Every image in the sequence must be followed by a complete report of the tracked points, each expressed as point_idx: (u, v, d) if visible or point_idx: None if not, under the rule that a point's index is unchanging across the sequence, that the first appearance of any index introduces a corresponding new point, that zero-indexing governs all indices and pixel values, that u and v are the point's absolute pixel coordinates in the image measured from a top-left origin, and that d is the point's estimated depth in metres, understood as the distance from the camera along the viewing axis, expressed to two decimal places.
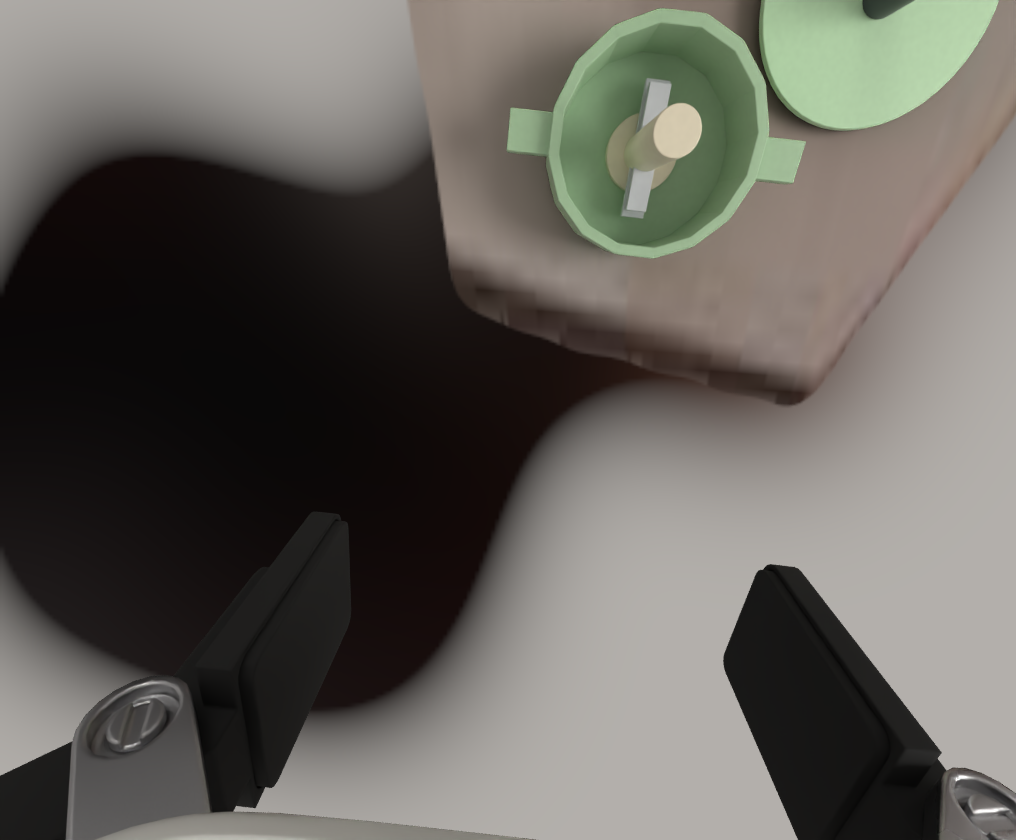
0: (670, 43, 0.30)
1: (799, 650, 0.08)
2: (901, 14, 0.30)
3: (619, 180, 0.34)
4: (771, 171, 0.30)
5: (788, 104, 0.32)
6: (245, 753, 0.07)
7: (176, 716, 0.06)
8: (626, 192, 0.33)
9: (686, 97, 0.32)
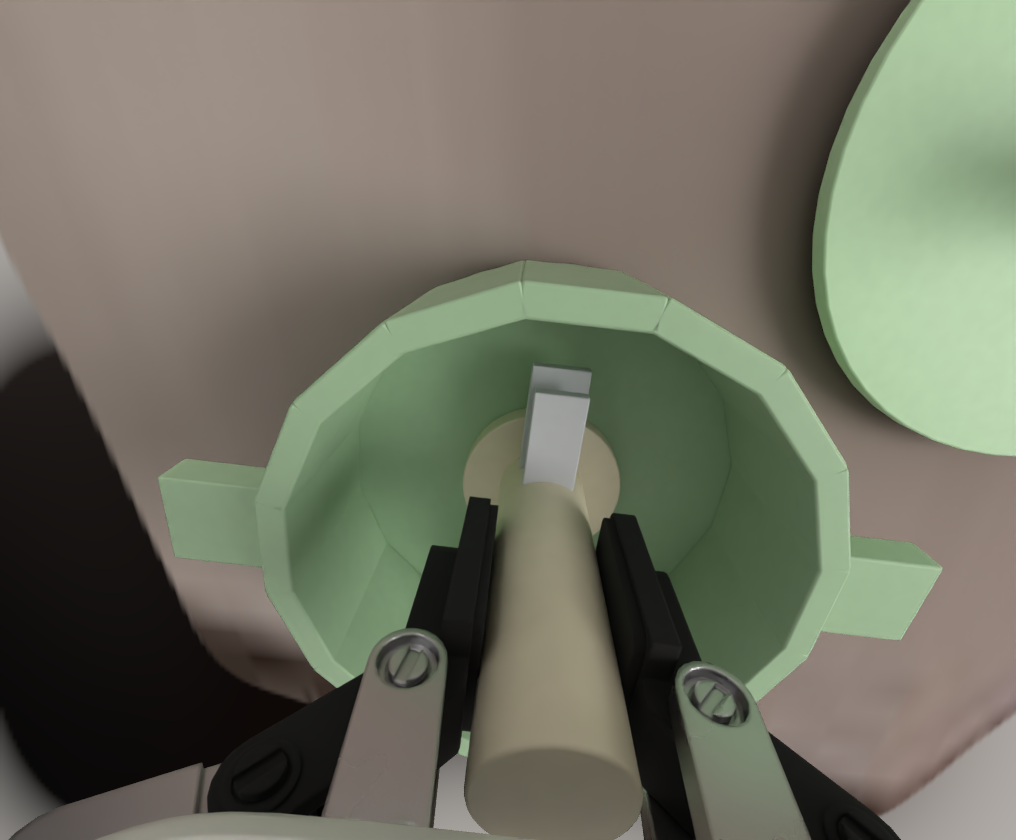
0: None
1: (612, 580, 0.10)
2: None
3: None
4: (846, 619, 0.12)
5: (877, 405, 0.13)
6: (464, 698, 0.08)
7: (440, 659, 0.07)
8: None
9: (638, 376, 0.14)
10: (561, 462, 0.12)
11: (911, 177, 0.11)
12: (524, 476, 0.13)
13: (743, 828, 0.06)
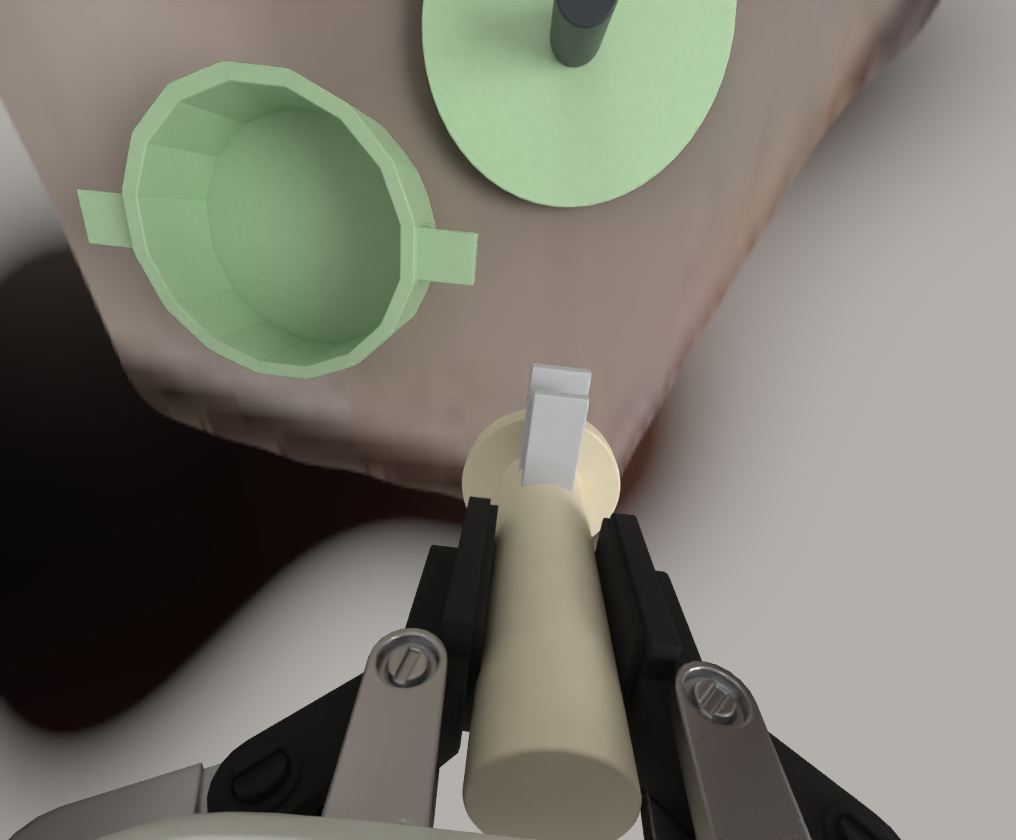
0: (294, 101, 0.22)
1: (613, 580, 0.10)
2: (606, 60, 0.22)
3: None
4: (439, 271, 0.23)
5: (484, 175, 0.24)
6: (464, 698, 0.08)
7: (440, 659, 0.07)
8: None
9: (357, 165, 0.25)
10: (560, 463, 0.12)
11: (458, 35, 0.22)
12: (523, 477, 0.13)
13: (743, 828, 0.06)
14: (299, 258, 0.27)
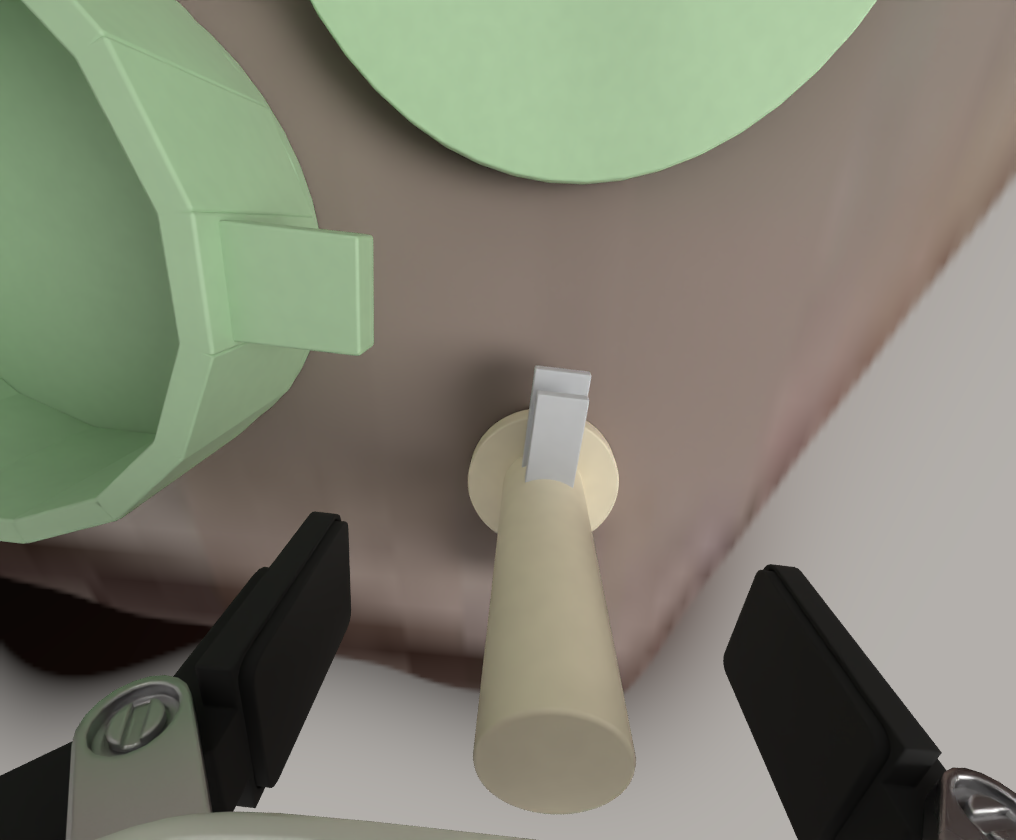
0: None
1: (799, 650, 0.08)
2: None
3: None
4: (282, 323, 0.10)
5: None
6: (245, 753, 0.07)
7: (176, 716, 0.06)
8: None
9: None
10: (562, 460, 0.13)
11: None
12: (527, 473, 0.13)
13: None
14: (62, 283, 0.14)
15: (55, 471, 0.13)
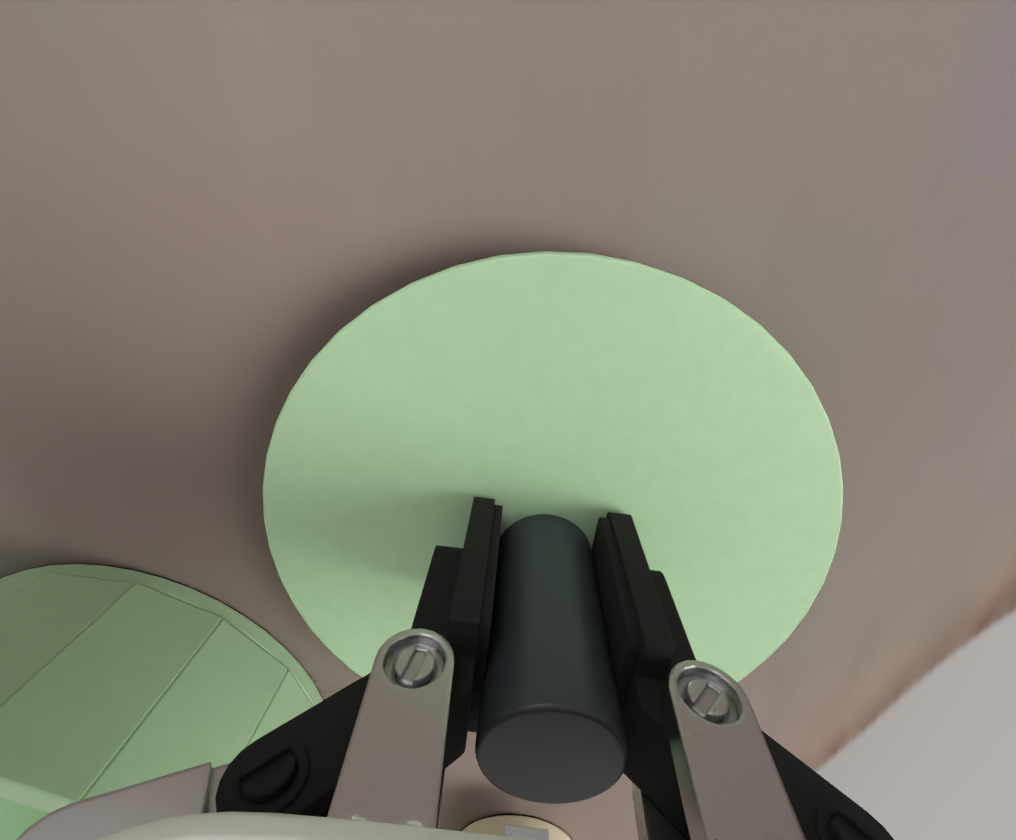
0: None
1: (608, 579, 0.10)
2: None
3: None
4: None
5: None
6: (470, 699, 0.08)
7: (447, 659, 0.07)
8: None
9: None
10: None
11: (332, 541, 0.12)
12: None
13: (734, 826, 0.06)
14: None
15: None
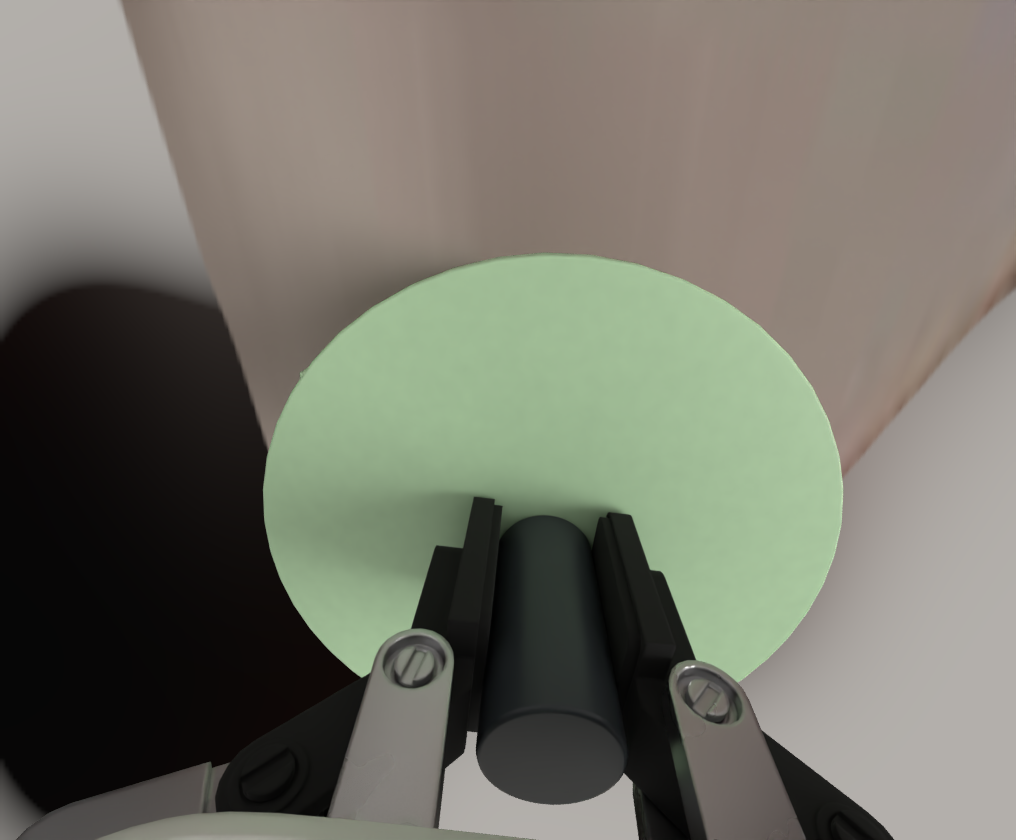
0: None
1: (608, 579, 0.10)
2: None
3: None
4: None
5: None
6: (470, 698, 0.08)
7: (446, 659, 0.07)
8: None
9: None
10: None
11: (333, 542, 0.12)
12: None
13: (735, 827, 0.06)
14: None
15: None
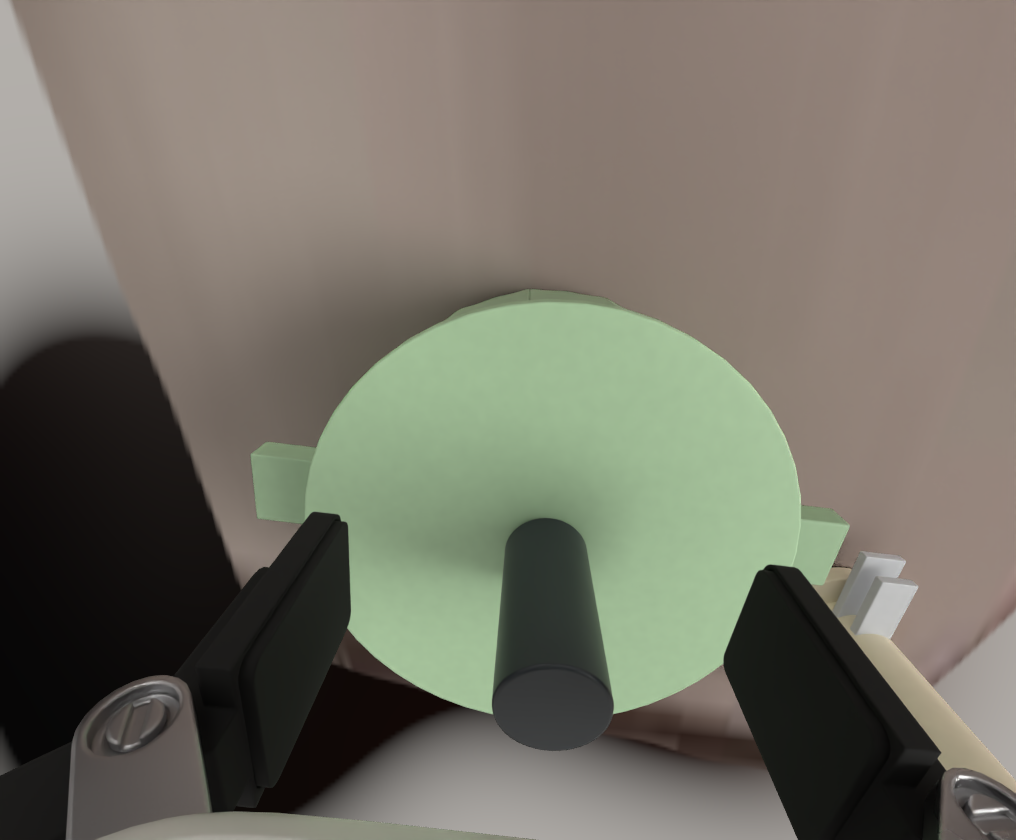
0: None
1: (799, 650, 0.08)
2: (594, 578, 0.14)
3: None
4: None
5: None
6: (245, 753, 0.07)
7: (176, 716, 0.06)
8: None
9: None
10: (887, 622, 0.18)
11: (363, 541, 0.14)
12: (859, 630, 0.19)
13: None
14: None
15: None
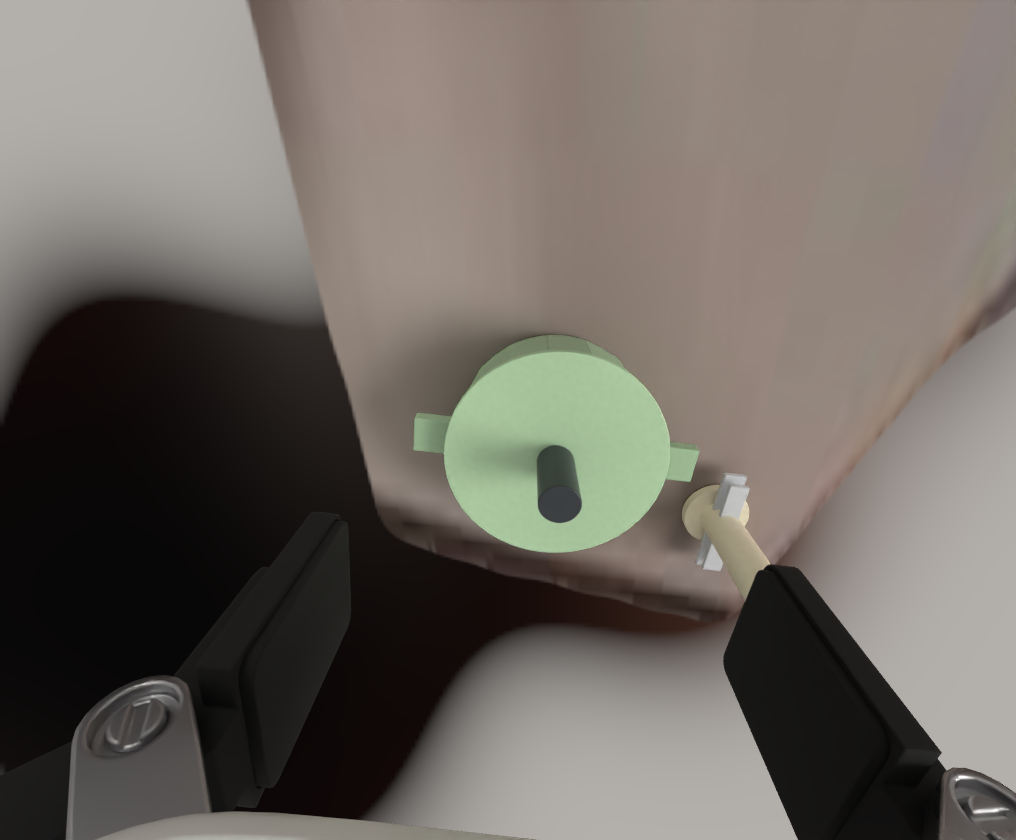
0: None
1: (799, 650, 0.08)
2: (577, 475, 0.30)
3: (694, 534, 0.38)
4: (668, 472, 0.31)
5: (488, 532, 0.32)
6: (244, 753, 0.07)
7: (176, 716, 0.06)
8: (701, 548, 0.37)
9: None
10: (736, 509, 0.35)
11: (470, 457, 0.30)
12: (721, 514, 0.35)
13: None
14: None
15: None
